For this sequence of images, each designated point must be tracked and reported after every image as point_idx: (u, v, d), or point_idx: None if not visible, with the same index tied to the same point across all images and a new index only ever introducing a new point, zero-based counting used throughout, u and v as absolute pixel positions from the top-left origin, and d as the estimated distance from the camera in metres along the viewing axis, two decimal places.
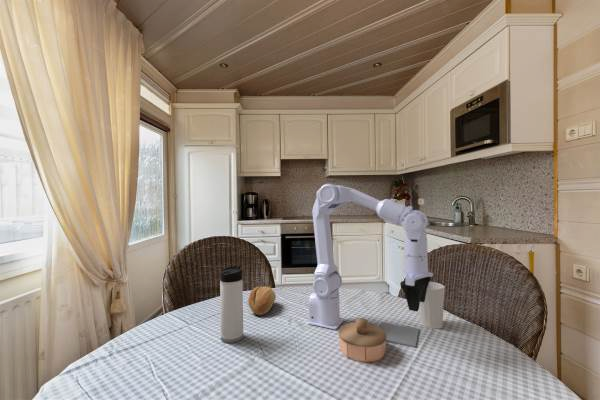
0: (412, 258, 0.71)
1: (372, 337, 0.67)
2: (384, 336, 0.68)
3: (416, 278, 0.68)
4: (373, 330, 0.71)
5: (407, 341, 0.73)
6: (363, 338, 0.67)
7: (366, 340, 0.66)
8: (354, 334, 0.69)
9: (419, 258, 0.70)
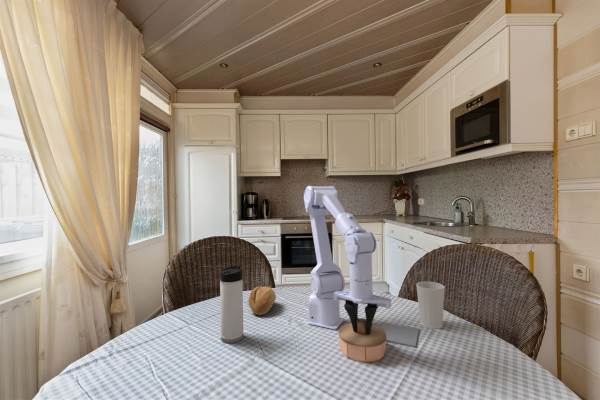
0: None
1: (372, 337, 0.67)
2: (384, 336, 0.68)
3: (339, 295, 0.72)
4: (373, 330, 0.71)
5: (407, 341, 0.73)
6: (363, 338, 0.67)
7: (366, 340, 0.66)
8: (354, 334, 0.69)
9: (350, 280, 0.70)
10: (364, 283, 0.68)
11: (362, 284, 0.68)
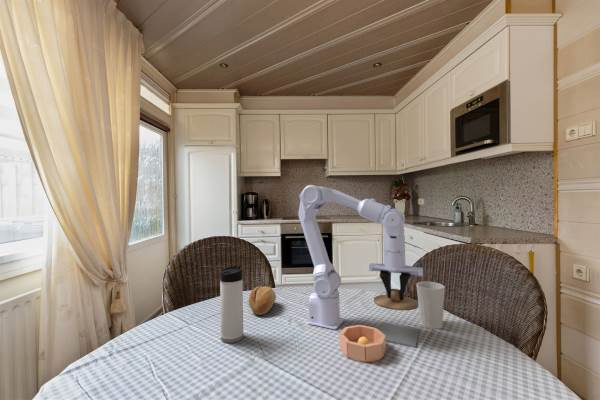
0: None
1: (405, 304, 0.75)
2: (416, 303, 0.75)
3: (374, 266, 0.80)
4: (405, 299, 0.79)
5: (407, 341, 0.73)
6: (397, 304, 0.75)
7: (400, 305, 0.74)
8: (388, 301, 0.77)
9: (384, 252, 0.78)
10: (399, 254, 0.76)
11: (397, 254, 0.76)
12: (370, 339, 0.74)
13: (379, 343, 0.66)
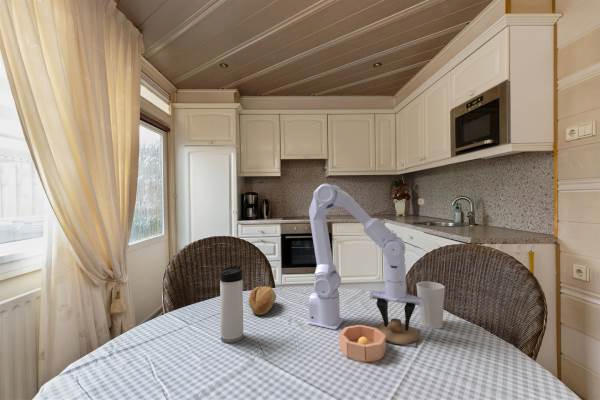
0: None
1: (406, 335, 0.75)
2: (417, 335, 0.75)
3: (375, 295, 0.80)
4: None
5: None
6: (398, 336, 0.74)
7: (401, 338, 0.73)
8: (389, 332, 0.77)
9: (385, 281, 0.78)
10: (399, 284, 0.75)
11: (397, 285, 0.75)
12: (370, 339, 0.74)
13: (379, 343, 0.66)
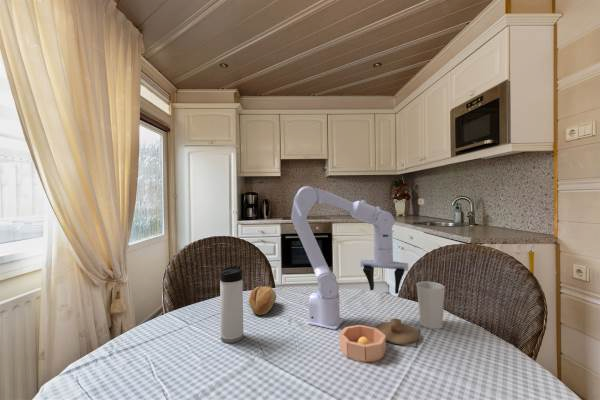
0: None
1: (406, 335, 0.75)
2: (417, 335, 0.75)
3: (365, 262, 0.88)
4: (406, 329, 0.78)
5: None
6: (398, 336, 0.74)
7: (401, 338, 0.73)
8: (389, 332, 0.77)
9: (374, 249, 0.86)
10: (386, 250, 0.83)
11: (385, 251, 0.83)
12: (370, 339, 0.74)
13: (379, 343, 0.66)
